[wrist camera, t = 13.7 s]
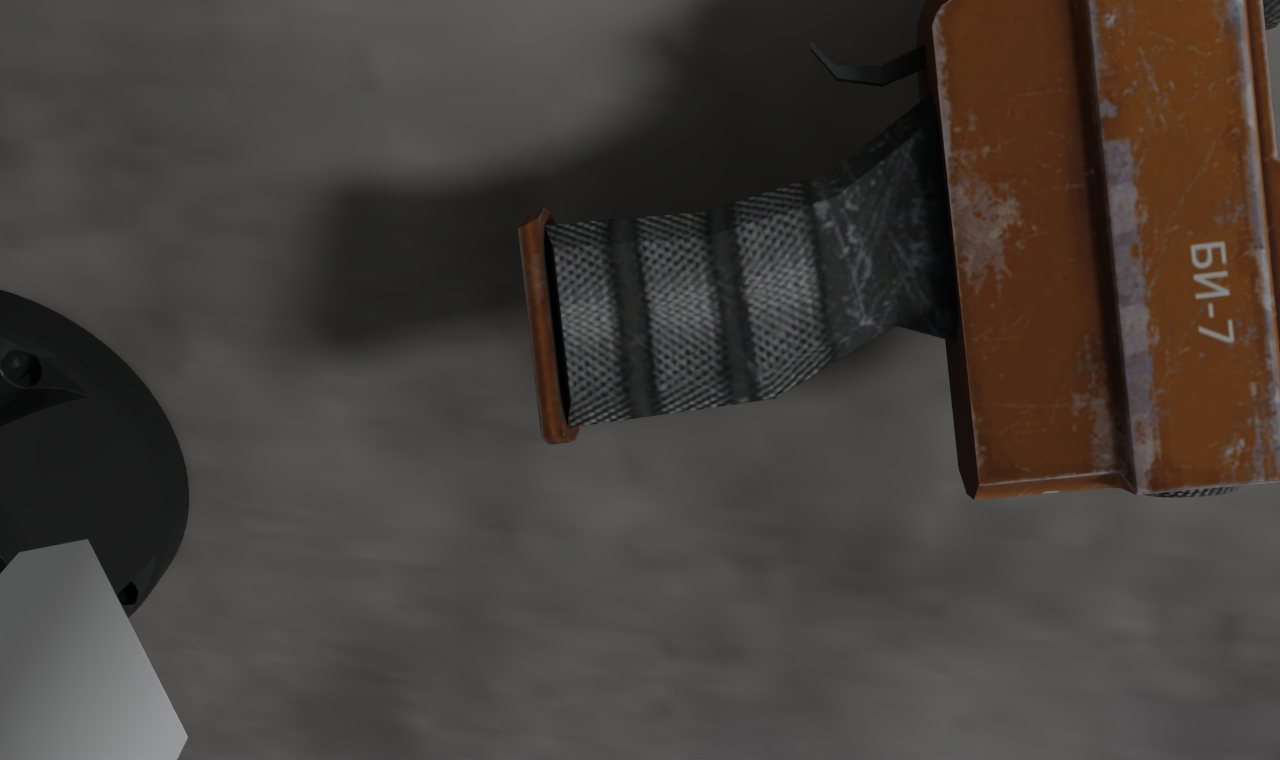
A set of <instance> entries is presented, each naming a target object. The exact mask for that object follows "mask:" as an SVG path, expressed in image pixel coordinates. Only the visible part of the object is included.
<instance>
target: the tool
mask: <svg viewBox="0 0 1280 760" xmlns="http://www.w3.org/2000/svg"><path fill="white" fill-rule="evenodd" d="M1279 23H1280V0H926V1H925V4H924V6H923V8H922V11H921V14H920V17H919V20H918V28H917V48H916V49H915V50H913V51H911V52H908V53H906V54H904V55H902V56H900V57H898V58H896V59H894V60H892V61H890V62H888V63H886V64H884V65H882V66H836V65H835V64H834V63H833V62H832V61H831V60H830V59H829V58H828V57H827V56H826V55H825V54H824V53H823V52H822V51H821V50H820V49H819V48H818V47H817V46H816V45H815V44H814V43H813V42H812V41H811V40H810V49H811V52H812V53H813V54H814V55H815V56H816V57H817V59H818V60H819V61H820V62H821V63H822V64H823V65H824V67H825V68H826V69H827V70H828V71H829V72H830V73H831V75H832V76H833V77H834V78H835V79H836V80H837V81H844V82H851V83H859V84H866V85H873V86H881V87H882V86H884V85H887V84H889V83H892V82H894V81H896V80H899V79H901V78H903V77H906V76H908V75H911V74H913V73H915V72H917V74H918V84H919V93H920V103H919V104H917V105H916V106H915V107H913V108H912V109H911V110H910V111H908V112H907V113H906V114H905V115H903V116H902V117H901V118H900V119H898V120H897V121H896V122H894V123H893V124H892V125H891V126H889V127H888V128H887V129H886V130H884V131H883V132H882V133H880V134H879V135H878V136H877V137H875V138H874V139H873V140H872V141H870V142H869V143H868V144H867V145H865V146H864V147H863V148H861V149H860V150H859V151H858V152H856V153H855V154H854V155H853V156H851V157H850V158H849V159H848V160H846V161H845V162H844V163H842V164H841V165H840V166H839V167H837V168H836V169H835V170H834V171H832V172H829V173H826V174H823V175H820V176H817V177H813V178H810V179H807V180H804V181H801V182H798V183H795V184H791V185H788V186H785V187H782V188H779V189H776V190H772V191H769V192H766V193H763V194H760V195H757V196H753V197H750V198H747V199H744V200H741V201H738V202H735V203H731V204H728V205H725V206H722V207H719V208H716V209H712V210H709V211H706V212H697V213H685V214H673V215H660V216H648V217H636V218H624V219H612V220H599V221H587V222H575V223H563V224H556V223H555V221H554V219H553V217H552V215H551V213H550V211H548V210H546V209H545V208H542V209H540V210H539V211H537V212H535V213H533V214H531V215H529V216H527V217H525V218H523V220H522V222H521V224H520V225H519V227H518V235H519V244H520V253H521V262H522V270H523V279H524V288H525V296H526V305H527V314H528V323H529V331H530V340H531V349H532V357H533V366H534V375H535V384H536V392H537V401H538V410H539V418H540V427H541V436H542V438H543V439H544V440H545V441H546V442H547V443H548V444H549V445H550V444H560V443H569V442H572V441H574V440H576V437H577V434H578V432H579V429H580V428H579V426H584V425H591V424H598V423H605V422H612V421H619V420H627V419H634V418H641V417H648V416H655V415H662V414H669V413H676V412H683V411H690V410H697V409H705V408H712V407H719V406H726V405H733V404H740V403H747V402H754V401H761V400H768V399H775V398H777V397H778V396H780V395H782V394H783V393H785V392H786V391H788V390H790V389H791V388H793V387H795V386H796V385H798V384H800V383H801V382H803V381H805V380H806V379H808V378H810V377H811V376H813V375H815V374H816V373H818V372H820V371H821V370H823V369H824V368H826V367H828V366H829V365H831V364H833V363H834V362H836V361H838V360H839V359H841V358H843V357H844V356H846V355H848V354H849V353H851V352H853V351H854V350H856V349H858V348H859V347H861V346H862V345H864V344H866V343H867V342H869V341H871V340H872V339H874V338H876V337H877V336H879V335H881V334H882V333H884V332H886V331H887V330H889V329H891V328H892V327H894V326H900V327H903V328H907V329H910V330H914V331H918V332H921V333H925V334H929V335H932V336H936V337H939V338H943V339H945V342H946V352H947V362H948V371H949V381H950V390H951V400H952V409H953V419H954V429H955V438H956V448H957V457H958V466H959V471H960V474H961V477H962V480H963V483H964V486H965V489H966V493H967V494H968V495H969V496H970V497H971V498H972V499H974V500H977V499H988V498H999V497H1010V496H1021V495H1032V494H1043V493H1054V492H1065V491H1076V490H1087V489H1098V488H1109V487H1111V488H1122V489H1124V490H1126V491H1129V492H1131V493H1133V494H1135V495H1141V494H1143V495H1147V496H1155V497H1200V496H1211V495H1219V494H1224V493H1229V492H1232V491H1235V490H1237V489H1239V488H1240V487H1241V486H1242V485H1251V484H1262V483H1273V482H1280V158H1278V156H1277V146H1276V135H1275V125H1274V114H1273V104H1272V93H1271V83H1270V72H1269V61H1268V51H1267V40H1266V30H1268V29H1272V28H1275V27H1276V26H1277V25H1278V24H1279Z"/></svg>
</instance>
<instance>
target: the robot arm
mask: <svg viewBox="0 0 1280 760" xmlns="http://www.w3.org/2000/svg"><path fill="white" fill-rule="evenodd" d="M188 508H189V488H188V478H187V472H186V467H185V463H184V459H183V455H182V452H181V449H180V446H179V443H178V440H177V438H176V436H175V433H174V431H173V429H172V427H171V425H170V423H169V421H168V419H167V417H166V415H165V413H164V412H163V410H162V408H161V407H160V405H159V403H158V402H157V400H156V399H155V398H154V396H153V395H152V393H151V392H150V390H149V389H148V388H147V387H146V385H145V384H144V383H143V382H142V380H141V379H140V378H139V377H138V376H137V375H136V373H135V372H134V371H133V370H132V369H131V368H130V367H129V366H128V365H127V364H126V363H125V362H124V361H123V360H122V359H121V358H120V357H119V356H118V355H117V354H116V353H115V352H113V351H112V350H111V349H110V348H109V347H107V346H106V345H105V344H104V343H103V342H101V341H100V340H99V339H97V338H96V337H95V336H93V335H92V334H91V333H89V332H88V331H86V330H85V329H83V328H82V327H80V326H79V325H77V324H76V323H74V322H72V321H71V320H69V319H67V318H66V317H64V316H62V315H60V314H58V313H56V312H54V311H52V310H51V309H49V308H47V307H44V306H42V305H40V304H38V303H35V302H33V301H31V300H28V299H25V298H22V297H20V296H17V295H14V294H11V293H8V292H4V291H1V290H0V760H177V759H178V757H179V754H180V752H181V750H182V748H183V746H184V744H185V742H186V740H187V738H188V736H187V734H186V732H185V730H184V728H183V726H182V724H181V722H180V720H179V718H178V716H177V714H176V712H175V711H174V709H173V707H172V705H171V703H170V701H169V699H168V697H167V695H166V693H165V691H164V689H163V687H162V685H161V683H160V681H159V679H158V677H157V675H156V673H155V671H154V669H153V667H152V665H151V663H150V661H149V659H148V657H147V655H146V653H145V651H144V649H143V647H142V645H141V643H140V641H139V639H138V637H137V635H136V633H135V631H134V629H133V628H132V626H131V624H130V622H129V620H128V618H129V617H130V616H131V615H132V614H133V613H134V612H135V611H136V610H137V609H138V608H139V607H140V606H141V605H142V603H143V602H144V601H145V599H146V598H147V597H148V596H149V594H150V593H151V591H152V590H153V588H154V587H155V586H156V584H157V583H158V581H159V580H160V578H161V577H162V576H163V574H164V573H165V571H166V570H167V568H168V567H169V565H170V564H171V562H172V561H173V559H174V557H175V555H176V553H177V551H178V549H179V546H180V544H181V541H182V539H183V535H184V532H185V528H186V523H187V518H188Z"/></svg>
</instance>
